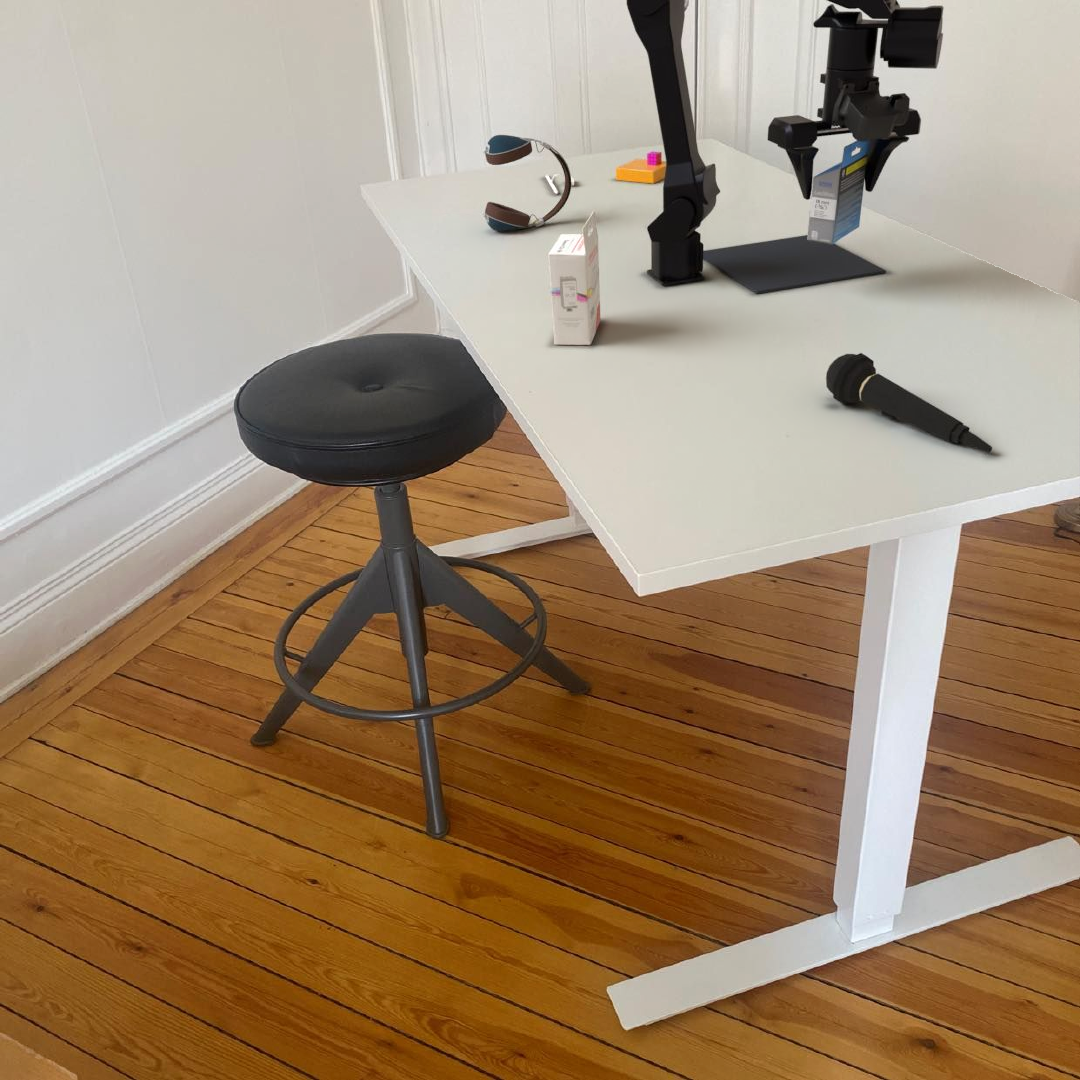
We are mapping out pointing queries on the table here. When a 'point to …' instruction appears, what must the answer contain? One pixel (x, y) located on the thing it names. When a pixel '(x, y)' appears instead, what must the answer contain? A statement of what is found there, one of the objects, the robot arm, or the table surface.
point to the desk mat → (788, 264)
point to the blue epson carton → (838, 197)
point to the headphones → (511, 150)
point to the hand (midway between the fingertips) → (837, 195)
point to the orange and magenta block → (643, 169)
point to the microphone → (893, 400)
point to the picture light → (554, 185)
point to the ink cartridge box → (575, 286)
